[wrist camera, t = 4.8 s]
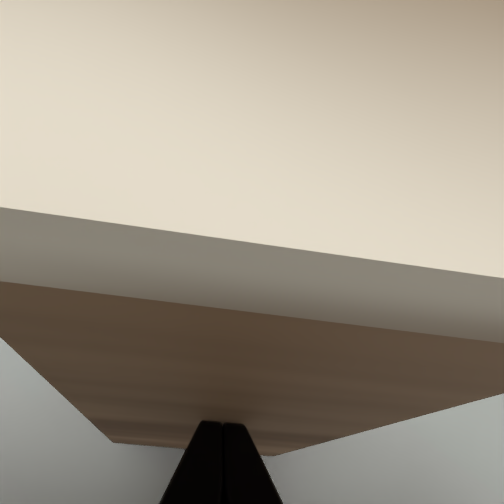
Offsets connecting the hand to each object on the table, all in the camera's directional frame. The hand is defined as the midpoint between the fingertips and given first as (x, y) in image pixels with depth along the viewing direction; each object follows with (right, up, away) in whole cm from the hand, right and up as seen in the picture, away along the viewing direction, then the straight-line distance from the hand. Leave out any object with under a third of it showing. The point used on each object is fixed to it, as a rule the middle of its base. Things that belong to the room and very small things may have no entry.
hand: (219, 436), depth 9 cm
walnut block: (-1, -1, +7) cm, 7 cm away
